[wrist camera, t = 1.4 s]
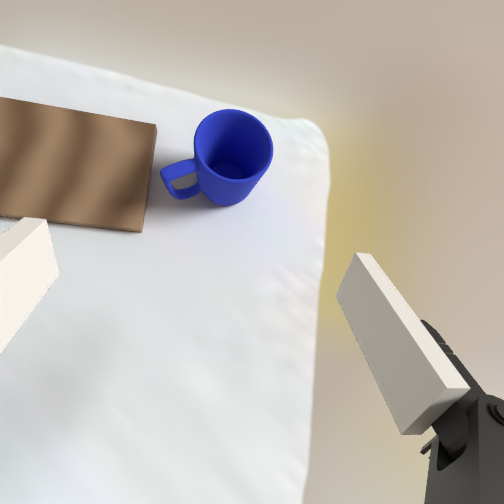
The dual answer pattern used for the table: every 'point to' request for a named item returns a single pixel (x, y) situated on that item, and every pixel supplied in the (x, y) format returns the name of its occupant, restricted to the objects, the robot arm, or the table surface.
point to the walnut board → (74, 166)
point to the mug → (224, 158)
